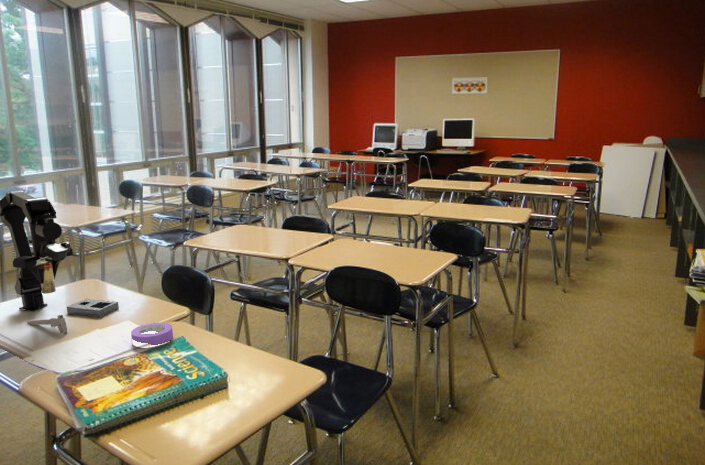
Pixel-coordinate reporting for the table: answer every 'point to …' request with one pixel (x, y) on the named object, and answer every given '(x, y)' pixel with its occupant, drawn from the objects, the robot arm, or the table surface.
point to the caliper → (52, 323)
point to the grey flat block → (92, 307)
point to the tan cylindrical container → (48, 278)
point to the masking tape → (153, 339)
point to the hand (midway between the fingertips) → (47, 281)
